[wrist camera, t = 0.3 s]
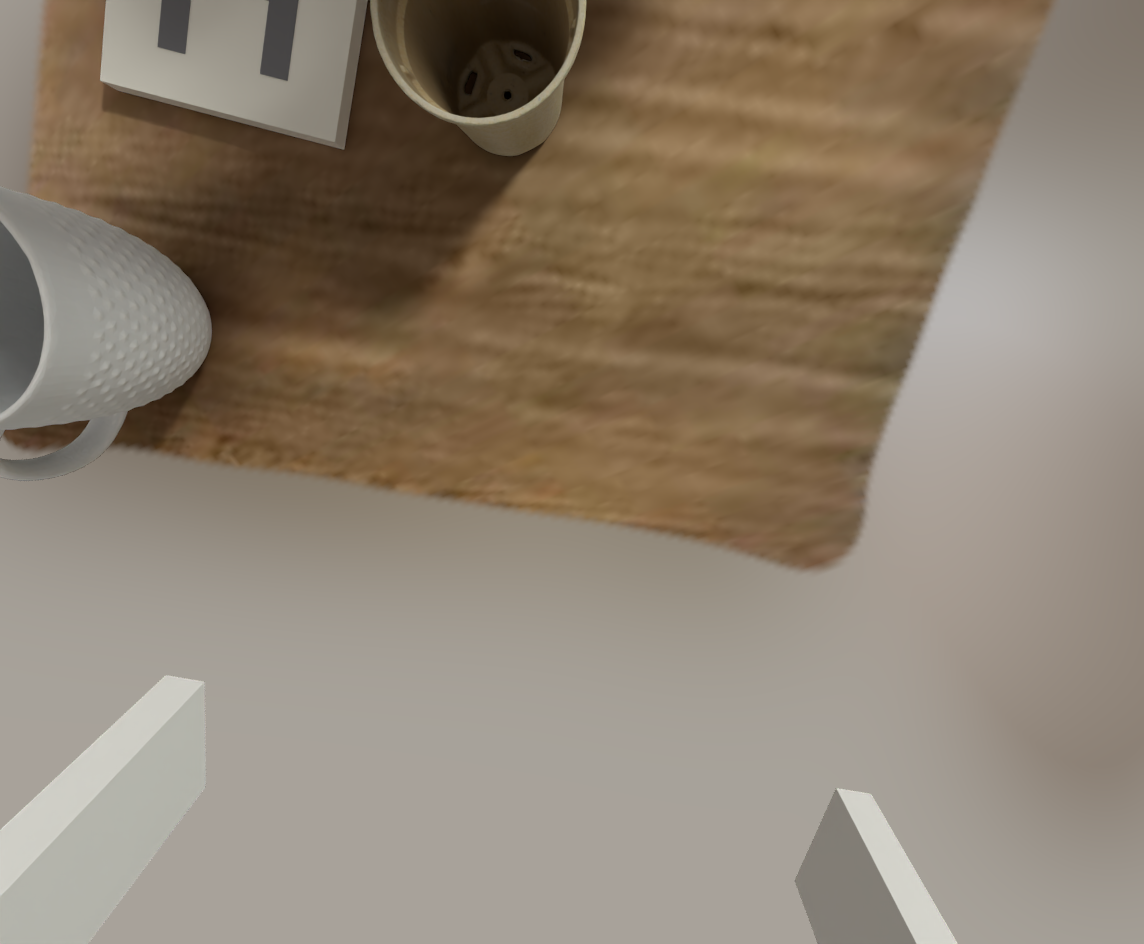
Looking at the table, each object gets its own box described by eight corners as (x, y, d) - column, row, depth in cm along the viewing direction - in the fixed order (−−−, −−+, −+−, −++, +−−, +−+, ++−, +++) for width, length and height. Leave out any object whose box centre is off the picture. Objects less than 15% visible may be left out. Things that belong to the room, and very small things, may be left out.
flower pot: (421, 13, 32) (356, -114, 23) (586, -2, 31) (581, -137, 23) (436, 190, 34) (382, 132, 25) (593, 179, 33) (591, 116, 25)
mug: (208, 487, 38) (9, 551, 25) (54, 427, 38) (-227, 460, 25) (266, 273, 35) (73, 222, 22) (99, 205, 35) (-193, 114, 22)
